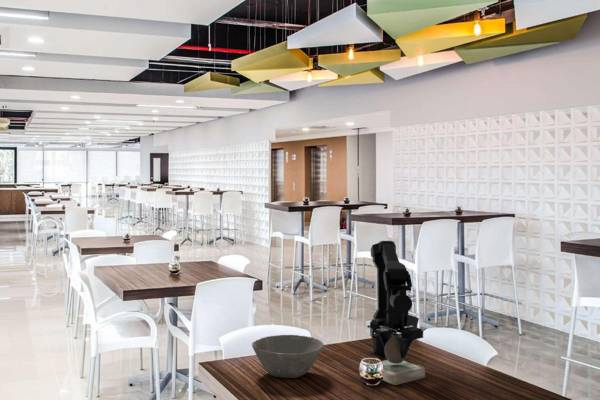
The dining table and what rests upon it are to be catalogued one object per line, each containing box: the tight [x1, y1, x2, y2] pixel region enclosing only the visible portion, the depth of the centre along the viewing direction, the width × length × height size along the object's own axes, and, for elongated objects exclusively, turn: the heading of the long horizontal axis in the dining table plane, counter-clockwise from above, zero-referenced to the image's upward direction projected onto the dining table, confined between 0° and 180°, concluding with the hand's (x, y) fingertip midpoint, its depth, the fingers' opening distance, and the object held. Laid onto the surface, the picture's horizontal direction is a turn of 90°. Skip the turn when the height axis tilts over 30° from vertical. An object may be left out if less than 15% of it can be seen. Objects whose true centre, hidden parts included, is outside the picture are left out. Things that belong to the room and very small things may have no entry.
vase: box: [385, 333, 406, 364], centre depth 178 cm, size 7×7×9 cm
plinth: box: [380, 359, 426, 386], centre depth 178 cm, size 13×13×3 cm
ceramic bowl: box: [251, 334, 324, 379], centre depth 179 cm, size 22×23×10 cm
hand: (395, 355), depth 178 cm, fingers closed on vase, 7 cm apart
